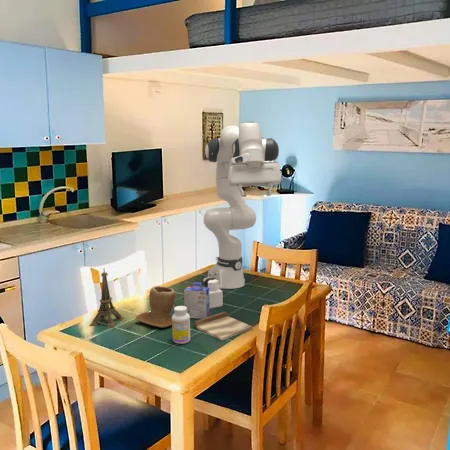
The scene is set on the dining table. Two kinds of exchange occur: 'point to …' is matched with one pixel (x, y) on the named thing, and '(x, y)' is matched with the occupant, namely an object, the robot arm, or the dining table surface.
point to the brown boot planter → (159, 307)
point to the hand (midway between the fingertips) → (256, 196)
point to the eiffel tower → (106, 306)
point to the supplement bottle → (181, 325)
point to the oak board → (221, 326)
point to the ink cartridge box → (197, 301)
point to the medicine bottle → (214, 293)
